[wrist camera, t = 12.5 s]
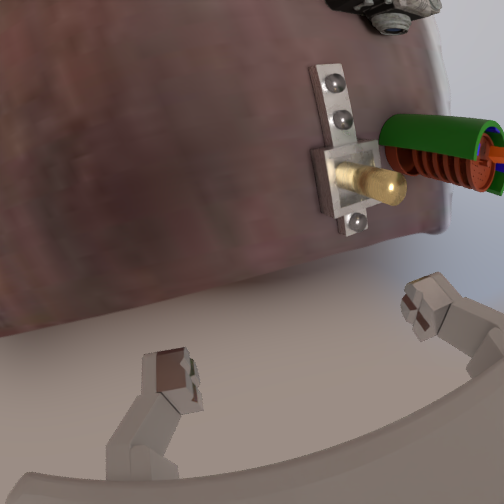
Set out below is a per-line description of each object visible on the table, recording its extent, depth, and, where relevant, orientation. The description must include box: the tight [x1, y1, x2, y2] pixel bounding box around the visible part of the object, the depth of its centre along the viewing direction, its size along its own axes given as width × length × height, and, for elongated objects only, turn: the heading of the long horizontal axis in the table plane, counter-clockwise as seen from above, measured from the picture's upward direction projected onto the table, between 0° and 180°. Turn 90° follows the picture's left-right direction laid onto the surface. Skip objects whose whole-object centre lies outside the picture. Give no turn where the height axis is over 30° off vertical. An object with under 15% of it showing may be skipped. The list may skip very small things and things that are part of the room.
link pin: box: [335, 161, 407, 206], centre depth 32 cm, size 4×4×9 cm
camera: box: [325, 0, 442, 35], centre depth 25 cm, size 15×7×10 cm, turn 99°
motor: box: [379, 114, 504, 196], centre depth 29 cm, size 10×9×20 cm
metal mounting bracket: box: [308, 64, 381, 237], centre depth 34 cm, size 22×8×3 cm, turn 13°
